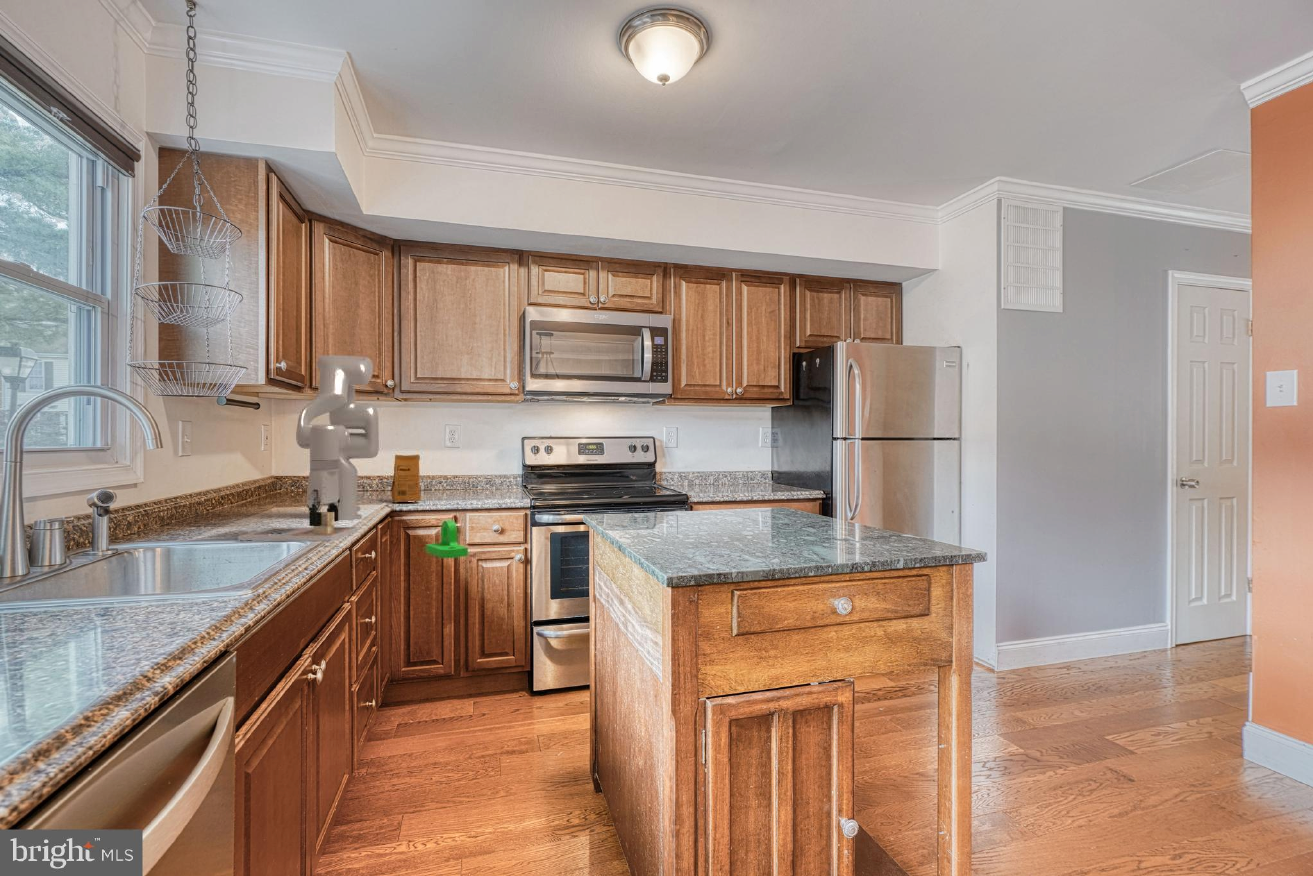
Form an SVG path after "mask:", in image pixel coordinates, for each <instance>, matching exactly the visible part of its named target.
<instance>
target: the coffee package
mask: <svg viewBox="0 0 1313 876" xmlns="http://www.w3.org/2000/svg"><path fill="white" fill-rule="evenodd" d="M420 460H421V456H420V454H408V455H406V454H405V455H403V454H402V455H401V454H395V455H394V463H393V465H394V467H393V479H392V483H391V491H390V492H391V502H408V501H419V502H420V501H421V497H422V496H421V487H420Z"/></svg>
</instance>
